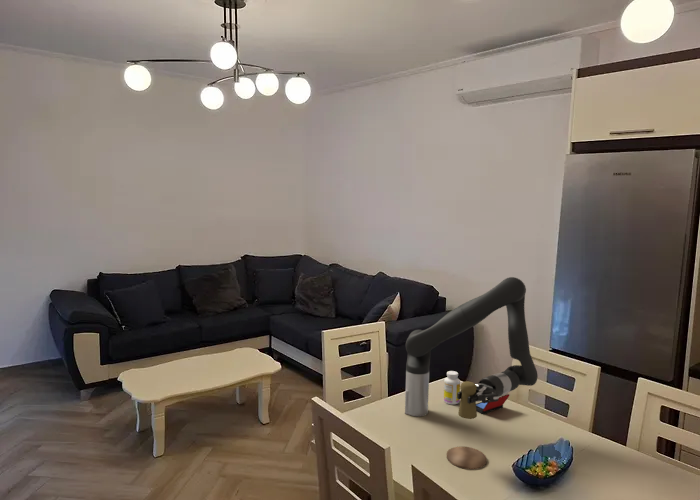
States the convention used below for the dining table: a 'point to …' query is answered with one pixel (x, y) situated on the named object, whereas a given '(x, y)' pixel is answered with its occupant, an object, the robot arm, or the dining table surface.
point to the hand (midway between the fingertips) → (463, 398)
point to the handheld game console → (491, 405)
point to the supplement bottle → (451, 388)
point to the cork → (466, 408)
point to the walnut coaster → (466, 457)
